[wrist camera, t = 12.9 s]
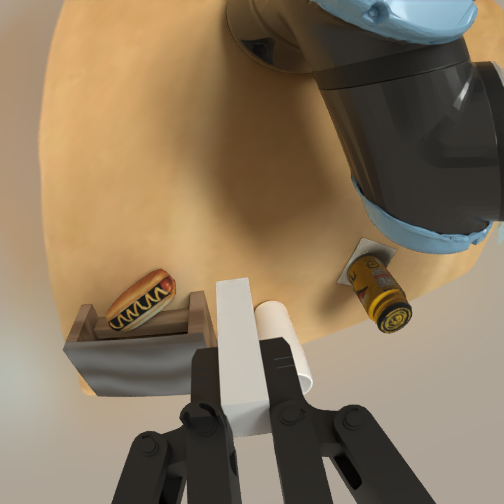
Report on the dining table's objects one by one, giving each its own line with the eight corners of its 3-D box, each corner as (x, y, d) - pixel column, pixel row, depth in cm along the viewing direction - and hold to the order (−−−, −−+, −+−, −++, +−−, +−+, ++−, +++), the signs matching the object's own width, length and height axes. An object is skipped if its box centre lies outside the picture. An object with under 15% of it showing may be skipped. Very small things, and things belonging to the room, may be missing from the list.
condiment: (336, 282, 47) (364, 336, 37) (361, 236, 43) (400, 285, 33) (371, 290, 49) (401, 340, 39) (396, 248, 45) (435, 294, 35)
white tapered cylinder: (267, 288, 46) (286, 367, 33) (299, 306, 48) (324, 381, 36) (240, 316, 48) (250, 395, 35) (272, 331, 51) (288, 406, 38)
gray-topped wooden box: (81, 305, 44) (62, 349, 35) (203, 290, 45) (202, 340, 36) (108, 352, 50) (97, 396, 42) (217, 344, 51) (219, 391, 43)
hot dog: (186, 278, 43) (183, 301, 39) (129, 320, 46) (123, 342, 42) (161, 256, 41) (156, 277, 37) (106, 302, 44) (98, 323, 40)
